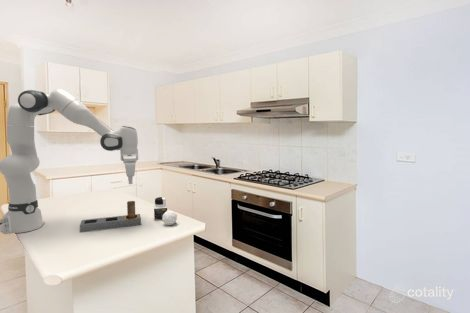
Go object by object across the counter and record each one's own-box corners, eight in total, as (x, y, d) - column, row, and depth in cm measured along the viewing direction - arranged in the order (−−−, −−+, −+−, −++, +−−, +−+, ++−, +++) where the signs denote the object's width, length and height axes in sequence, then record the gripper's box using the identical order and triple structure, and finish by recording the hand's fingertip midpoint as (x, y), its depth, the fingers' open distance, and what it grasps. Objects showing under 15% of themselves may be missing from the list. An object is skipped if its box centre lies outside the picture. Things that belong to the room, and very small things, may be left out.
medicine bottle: (154, 220, 160) (153, 199, 159) (154, 216, 167) (153, 196, 166) (167, 219, 162) (166, 198, 161) (166, 215, 169) (166, 196, 168)
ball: (169, 228, 156) (172, 214, 160) (178, 226, 151) (181, 211, 155) (157, 224, 152) (161, 209, 156) (166, 221, 147) (169, 207, 151)
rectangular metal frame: (80, 232, 142) (79, 224, 142) (82, 226, 151) (81, 219, 150) (141, 224, 153) (140, 218, 153) (140, 220, 161) (139, 213, 161)
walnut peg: (126, 223, 155) (125, 202, 154) (132, 221, 158) (131, 200, 157) (131, 225, 153) (130, 203, 152) (137, 222, 156) (136, 201, 155)
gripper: (123, 155, 161) (123, 179, 162) (123, 158, 142) (124, 186, 143) (134, 155, 163) (135, 178, 164) (136, 158, 144) (137, 185, 145)
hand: (130, 182), depth 154 cm, fingers open, 8 cm apart
